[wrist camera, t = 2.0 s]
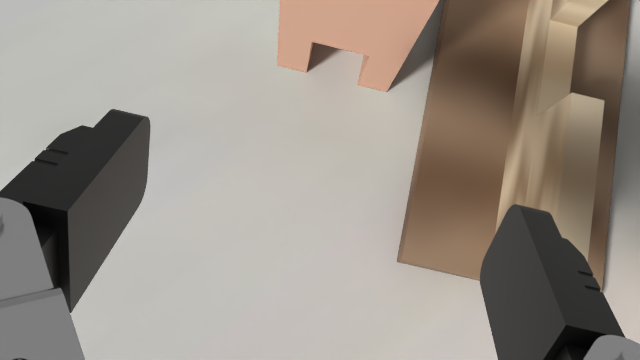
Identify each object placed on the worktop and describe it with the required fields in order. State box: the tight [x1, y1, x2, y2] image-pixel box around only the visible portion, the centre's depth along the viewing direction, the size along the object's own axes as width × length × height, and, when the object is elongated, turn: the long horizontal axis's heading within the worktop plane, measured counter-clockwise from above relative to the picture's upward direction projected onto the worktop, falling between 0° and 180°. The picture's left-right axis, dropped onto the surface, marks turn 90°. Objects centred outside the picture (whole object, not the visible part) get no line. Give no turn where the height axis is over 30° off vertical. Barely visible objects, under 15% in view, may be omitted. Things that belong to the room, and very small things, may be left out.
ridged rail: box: [397, 0, 630, 292], centre depth 27 cm, size 20×10×7 cm, turn 168°
